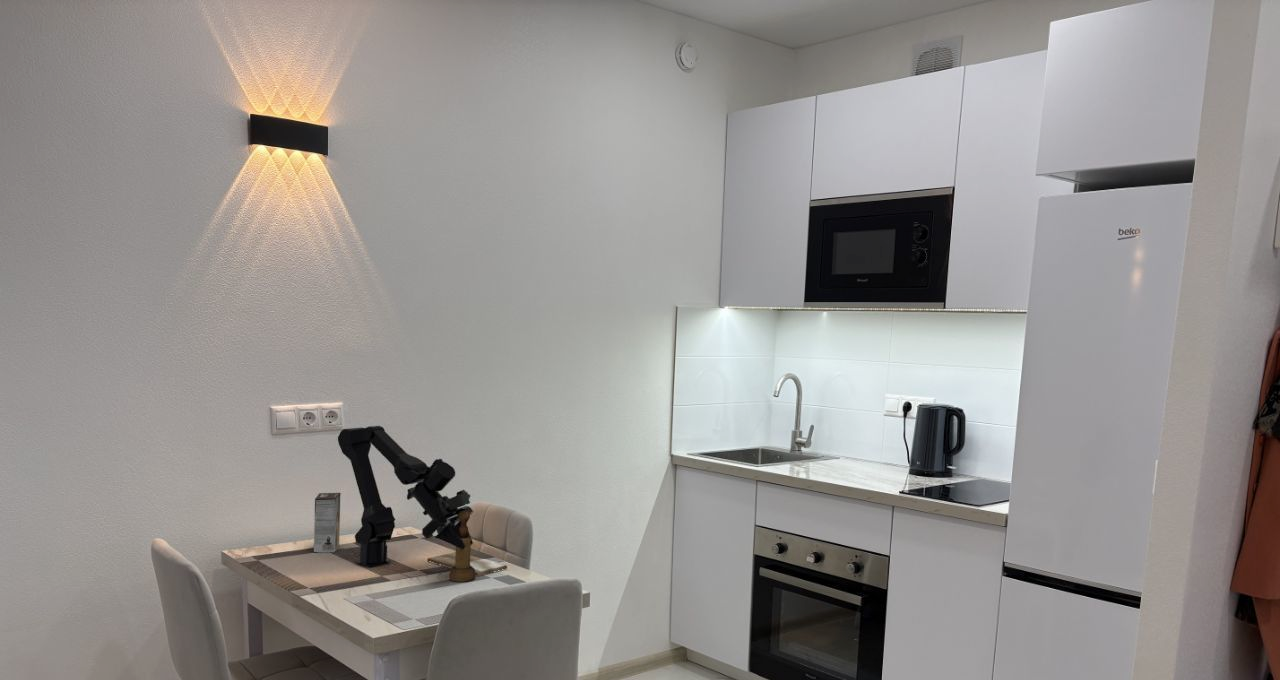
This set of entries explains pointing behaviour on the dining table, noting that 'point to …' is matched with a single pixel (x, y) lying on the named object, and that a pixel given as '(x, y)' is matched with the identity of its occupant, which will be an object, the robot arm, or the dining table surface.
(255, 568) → the dining table surface
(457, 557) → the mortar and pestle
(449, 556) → the grey brown flat rectangle
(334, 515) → the coffee box
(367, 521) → the robot arm
